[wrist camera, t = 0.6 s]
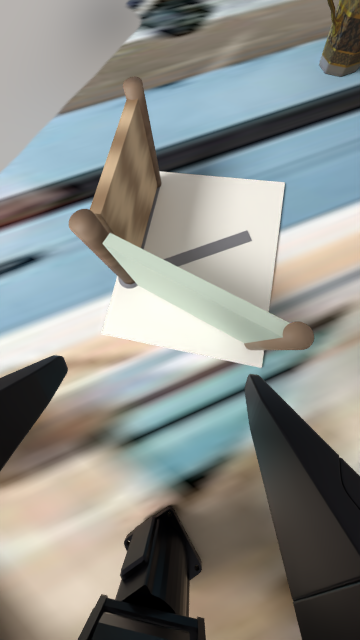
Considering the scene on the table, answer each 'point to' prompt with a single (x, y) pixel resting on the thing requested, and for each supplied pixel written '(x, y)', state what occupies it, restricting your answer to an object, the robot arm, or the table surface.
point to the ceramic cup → (342, 39)
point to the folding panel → (209, 301)
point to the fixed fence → (123, 184)
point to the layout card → (203, 260)
